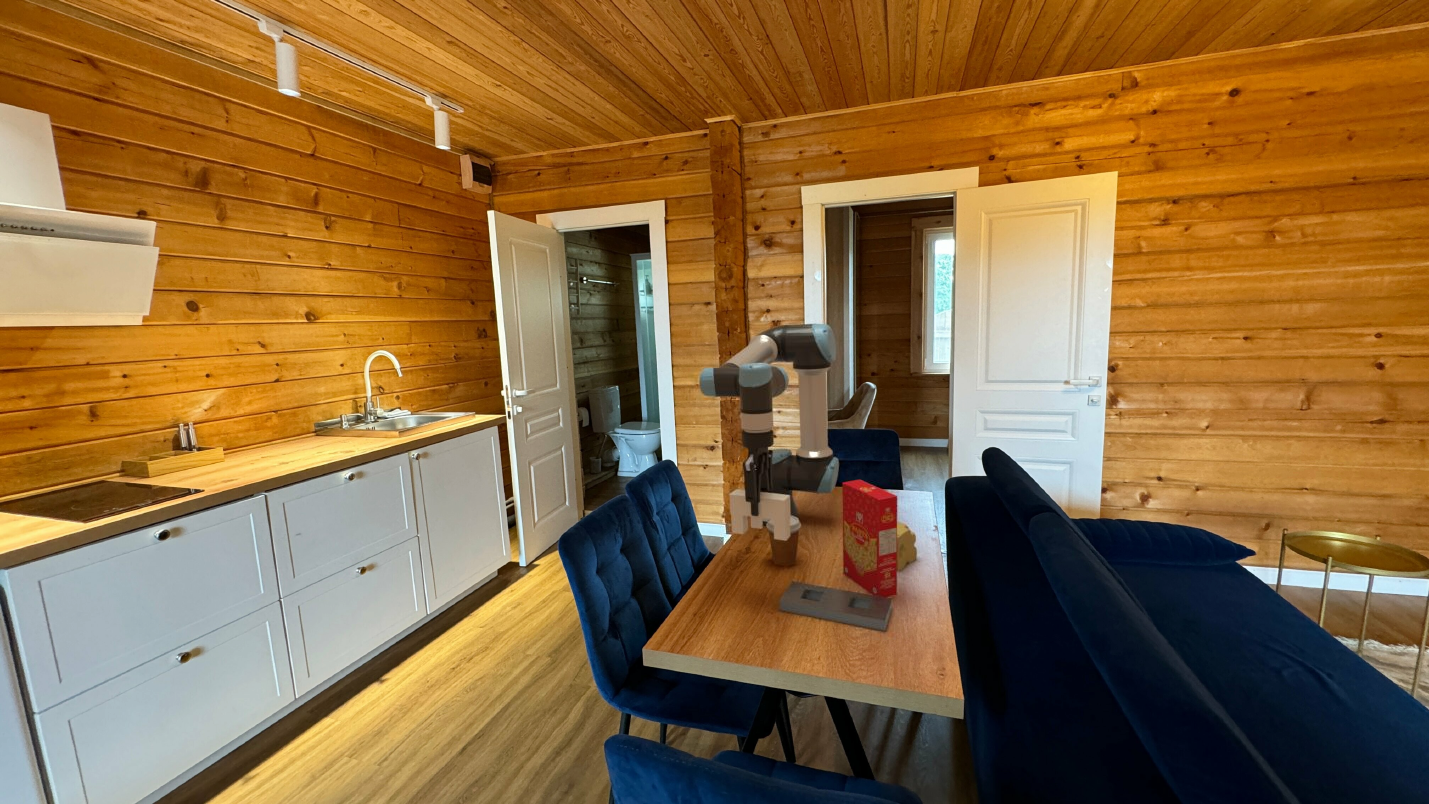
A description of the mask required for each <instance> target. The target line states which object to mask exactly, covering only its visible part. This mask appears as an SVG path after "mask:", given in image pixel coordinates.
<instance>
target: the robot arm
mask: <svg viewBox="0 0 1429 804" xmlns="http://www.w3.org/2000/svg"><path fill="white" fill-rule="evenodd" d="M836 359H837V343H836V337H835V334H834V332H833V329H832V327H831V326H830V325H828V324H827V323H826V324H825V323H806V324H805V323H803V324H781V325H777V326H773V327H771V328H768V329H766V330H764V331H762V332H760V333H757V335H755V336H753V337H752V338H751V340H750V341H749V343H748V345H747V346H745V348H743V349H742V350H741V351H739V352H737V353H736V354H735V355H734V356H732V357H731V358H730V359H728V360H727V361H726V362H724V363H723V364H721V365H720V366H719V367H714V366H712V367H705V368H704V369H702V370H701V373H700V375H699V381H698V382H699V389H700V392H701V393H702V394H703V395H704V396H705V397H713V398H739V401H740V414H739V419H740V424H741V429H742V431H741V446H743V447H744V448H746V449H747V450H748V452H747V457H746V458H747V461H742V463H741V466H742V470H743V476H744V477H743V480H744V481H743V482H744V490H745V500H746V502H750V514H751V517H750V527H751V528H752V529H760V530H761V529H764V528H763V527H764V526H766V524H767V523H768V522H769V521H770V519H765V518H762V502H761V501H760V492H766V493H775V494H784V495H790V513H791V515H790V516H794V517H796V518H798V519H799V510H798V507H797V504H796V501H795V498H794V497H793V493H794V492H804V493H813V494H818V495H819V494H830V493H832V492H833V491H834V490H835V486H836V484H837V481H838V476H839V467H840V461H839V458H837V457H836V456H834V453H833V450H832V449H831V447H829V445H828V444H829V441H828V440H829V439H828V435H829V434H828V407H827V406H828V405H827V404H828V403H827V402H828V401H827V373H828V371H829V370H830V369H831V367H832V366H831V365H832V363H834V362H835V361H836ZM773 363H792V369H793V371H795V372H796V373H797V380H798V383H797V384H798V402H799V403H798V406H799V435H800V439H799V440H800V447H799V448H798V449H797V450H796V451H795V452H796V454H793V452H792V450H791V449H789V448H776V449H775V448H774V449H769V448H770V447H772V446H773V445H774V442H775V441H774V430H773V428H774V410H773V399H774V398H777V397H779V396H781V395H782V394H783V393H784V392H785V391H786V390H787V388H788V387H789V382H790V380H789V376H788V373H787V372H786V370H785V369H784V368H782V367H780V366H776V365H773V366H771V364H773ZM793 491H794V492H793Z"/></svg>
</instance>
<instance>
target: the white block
mask: <svg viewBox="0 0 1429 804" xmlns="http://www.w3.org/2000/svg"><path fill="white" fill-rule="evenodd" d="M728 496H729V513H730V516H731V519H730V520H731V521H730V522H731V533H732V534H733V533H734V534H739V535H745V533H746V532H747V531H749V522H748V521H749V518H748V517H750V518H751V514H750V502H746V500H745V489H737V488H736V489H734V490H733V491H732V492H730V493H729V495H728ZM760 501H761V502H762V518H765V519H772V520H774V539H778V540H784V541H786V540H787V539H788V538H789V537H790V515H791V513H790V495H784V494H775V493H766V492H760Z"/></svg>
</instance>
